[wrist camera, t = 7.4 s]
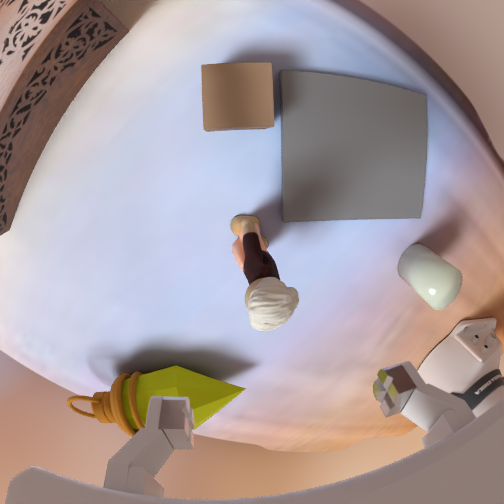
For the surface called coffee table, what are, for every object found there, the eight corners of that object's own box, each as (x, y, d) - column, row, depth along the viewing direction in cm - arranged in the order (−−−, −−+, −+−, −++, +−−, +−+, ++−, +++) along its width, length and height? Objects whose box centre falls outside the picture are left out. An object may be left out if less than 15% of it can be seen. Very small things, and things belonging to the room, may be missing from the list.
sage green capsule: (431, 242, 29) (466, 266, 23) (423, 278, 31) (454, 305, 25) (401, 244, 29) (437, 271, 22) (394, 282, 31) (425, 313, 24)
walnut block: (262, 77, 21) (271, 62, 16) (264, 129, 23) (274, 126, 18) (205, 79, 20) (201, 64, 16) (207, 131, 22) (203, 129, 18)
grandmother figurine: (212, 217, 25) (204, 286, 14) (248, 196, 25) (272, 249, 13) (252, 280, 28) (272, 372, 17) (285, 262, 28) (326, 346, 16)
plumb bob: (234, 340, 32) (58, 365, 28) (252, 406, 25) (50, 423, 21) (241, 374, 37) (89, 395, 33) (256, 429, 30) (87, 445, 26)
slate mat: (420, 95, 22) (426, 94, 21) (415, 215, 27) (420, 218, 26) (279, 72, 21) (281, 69, 20) (281, 219, 26) (284, 222, 25)
